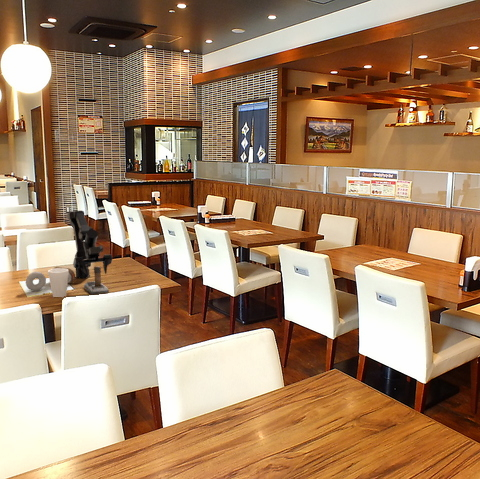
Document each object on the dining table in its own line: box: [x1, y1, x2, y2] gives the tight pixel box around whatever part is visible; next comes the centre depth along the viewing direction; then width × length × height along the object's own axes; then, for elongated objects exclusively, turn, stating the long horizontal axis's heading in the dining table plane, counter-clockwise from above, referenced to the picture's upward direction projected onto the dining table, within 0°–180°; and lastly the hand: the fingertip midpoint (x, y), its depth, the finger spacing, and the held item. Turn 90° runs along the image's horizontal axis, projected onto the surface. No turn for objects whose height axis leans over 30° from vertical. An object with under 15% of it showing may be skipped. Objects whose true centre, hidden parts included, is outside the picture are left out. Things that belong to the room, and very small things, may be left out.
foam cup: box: [47, 267, 69, 298], centre depth 237 cm, size 10×9×13 cm
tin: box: [52, 266, 76, 285], centre depth 262 cm, size 15×3×8 cm, turn 71°
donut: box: [25, 271, 47, 292], centre depth 246 cm, size 10×4×10 cm, turn 133°
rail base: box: [83, 280, 110, 295], centre depth 249 cm, size 14×10×3 cm
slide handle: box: [92, 265, 104, 290], centre depth 245 cm, size 5×5×12 cm
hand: (96, 274), depth 246 cm, fingers open, 9 cm apart
